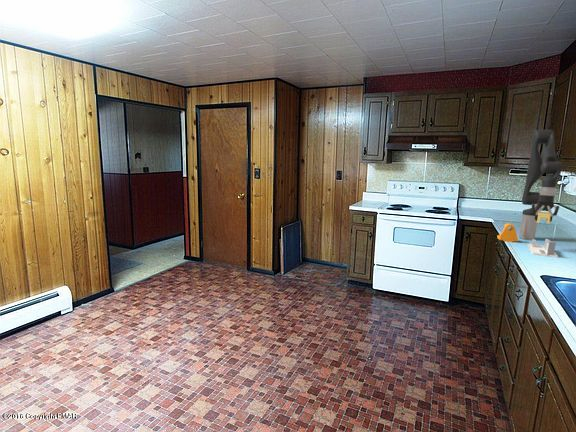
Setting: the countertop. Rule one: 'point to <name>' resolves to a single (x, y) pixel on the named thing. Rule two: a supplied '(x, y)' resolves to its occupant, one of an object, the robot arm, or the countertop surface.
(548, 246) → the rail plate
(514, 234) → the bracket
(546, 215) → the yellow block
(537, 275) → the countertop surface
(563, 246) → the countertop surface
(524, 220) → the robot arm
